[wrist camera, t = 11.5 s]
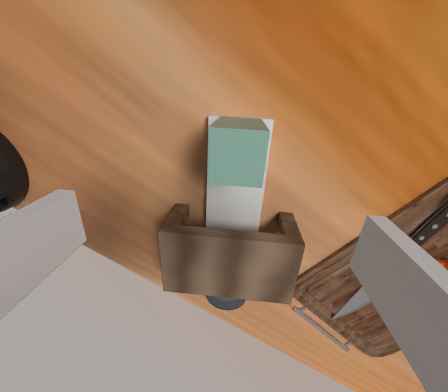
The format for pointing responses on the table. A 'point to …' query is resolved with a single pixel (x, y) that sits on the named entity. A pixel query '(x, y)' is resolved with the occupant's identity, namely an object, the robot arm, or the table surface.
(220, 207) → the white green long block
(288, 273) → the low shelf
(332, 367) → the table surface
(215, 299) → the steel puck
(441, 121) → the table surface
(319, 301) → the chopping board
